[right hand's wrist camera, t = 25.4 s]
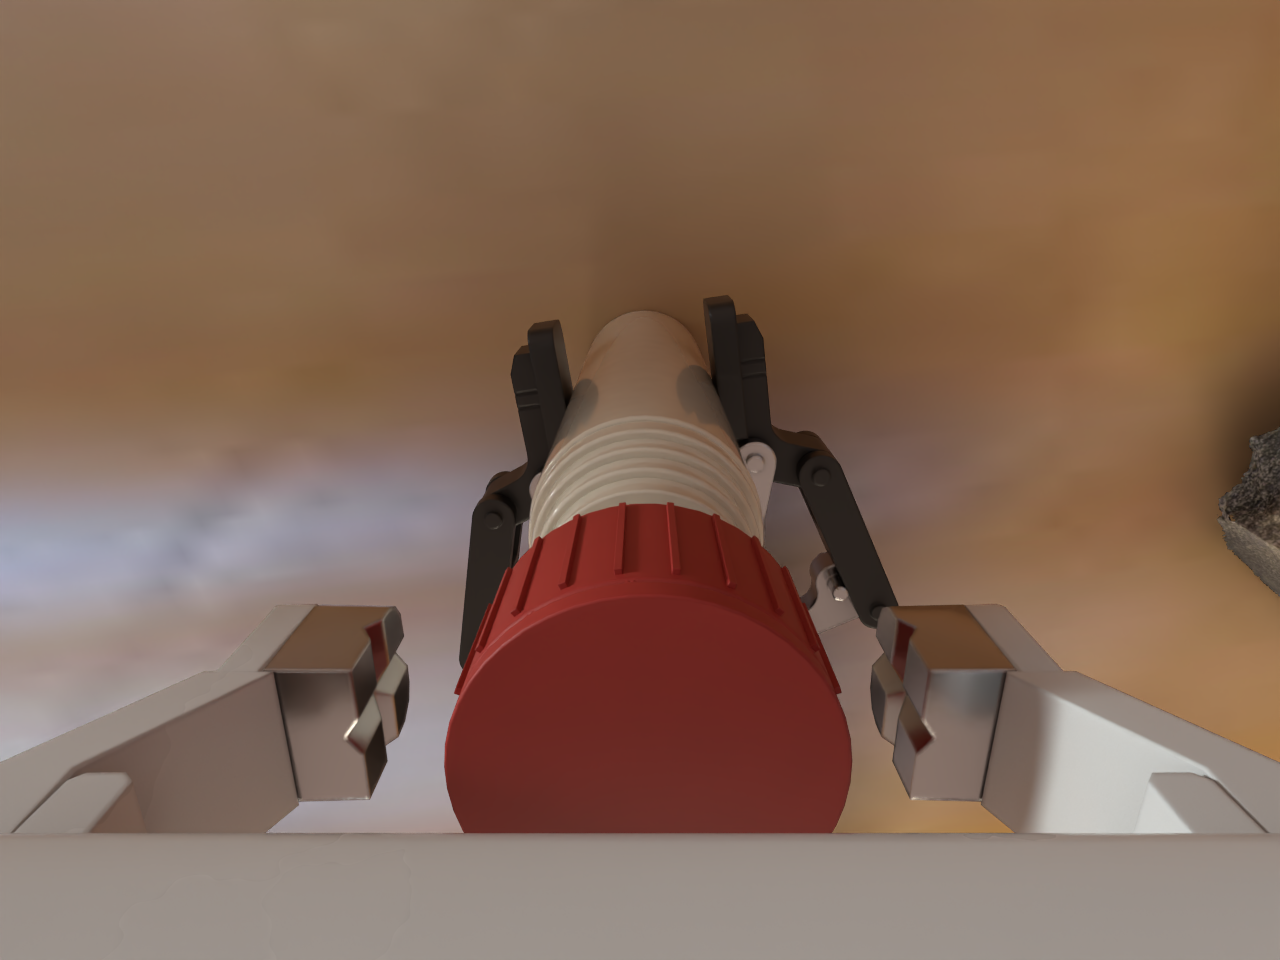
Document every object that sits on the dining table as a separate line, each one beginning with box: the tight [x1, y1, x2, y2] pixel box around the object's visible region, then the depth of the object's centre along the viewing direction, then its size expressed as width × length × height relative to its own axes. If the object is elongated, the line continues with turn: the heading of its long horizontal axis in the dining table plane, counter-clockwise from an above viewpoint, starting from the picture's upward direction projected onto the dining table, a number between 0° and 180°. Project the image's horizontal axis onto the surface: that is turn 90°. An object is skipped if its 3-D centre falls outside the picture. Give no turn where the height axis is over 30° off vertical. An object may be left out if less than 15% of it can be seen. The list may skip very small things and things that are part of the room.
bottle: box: [528, 311, 764, 549], centre depth 18 cm, size 4×4×20 cm
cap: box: [444, 502, 852, 833], centre depth 9 cm, size 4×4×2 cm
